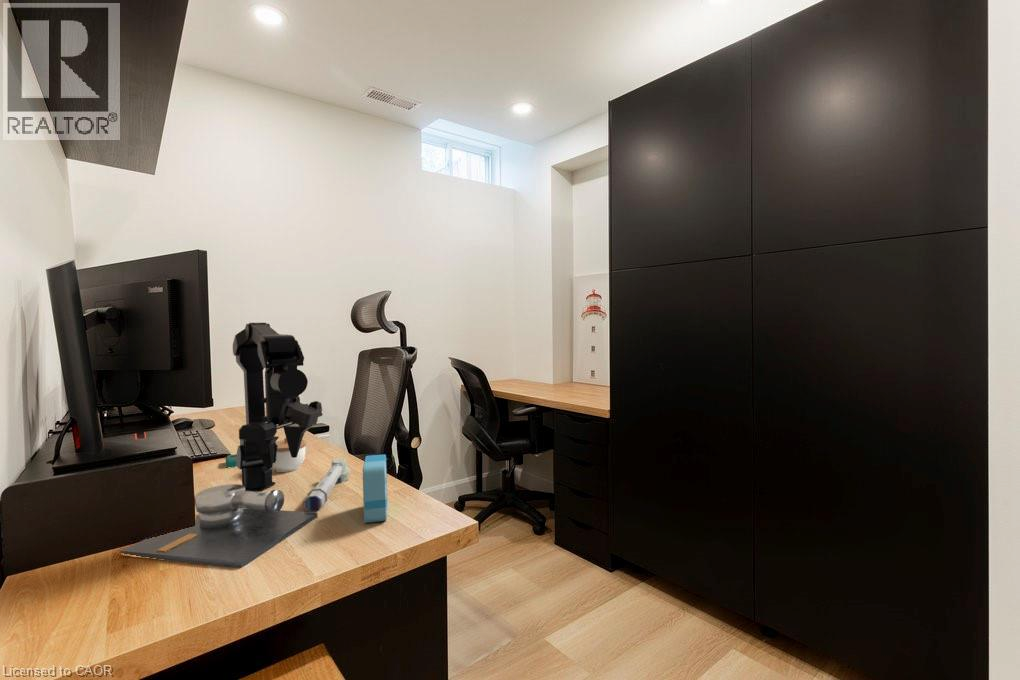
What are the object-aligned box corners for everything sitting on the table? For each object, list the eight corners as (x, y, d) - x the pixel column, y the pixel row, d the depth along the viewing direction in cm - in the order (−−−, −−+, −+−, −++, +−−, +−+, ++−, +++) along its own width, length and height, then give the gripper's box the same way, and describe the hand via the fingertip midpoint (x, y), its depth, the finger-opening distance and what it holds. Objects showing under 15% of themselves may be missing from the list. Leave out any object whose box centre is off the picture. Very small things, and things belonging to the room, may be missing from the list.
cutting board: (120, 556, 87) (119, 534, 87) (217, 510, 109) (216, 493, 109) (241, 567, 82) (240, 545, 82) (317, 517, 103) (316, 499, 103)
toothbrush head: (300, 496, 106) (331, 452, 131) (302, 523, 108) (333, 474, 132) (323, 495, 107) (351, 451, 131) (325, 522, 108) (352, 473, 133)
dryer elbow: (185, 516, 97) (184, 493, 97) (220, 500, 106) (219, 479, 105) (261, 521, 93) (260, 498, 93) (291, 504, 102) (290, 483, 102)
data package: (386, 523, 100) (384, 467, 99) (364, 525, 99) (362, 469, 98) (387, 502, 111) (385, 452, 111) (367, 505, 110) (366, 454, 110)
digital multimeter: (280, 461, 150) (280, 452, 150) (226, 469, 142) (226, 460, 142) (277, 456, 157) (277, 447, 157) (225, 464, 149) (225, 454, 149)
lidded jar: (296, 474, 135) (295, 442, 134) (259, 475, 135) (258, 442, 135) (313, 463, 145) (311, 433, 145) (278, 464, 146) (277, 434, 145)
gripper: (284, 399, 93) (287, 477, 93) (336, 387, 111) (338, 452, 112) (235, 398, 95) (238, 475, 95) (294, 386, 113) (296, 451, 114)
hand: (282, 462), depth 104 cm, fingers open, 8 cm apart
